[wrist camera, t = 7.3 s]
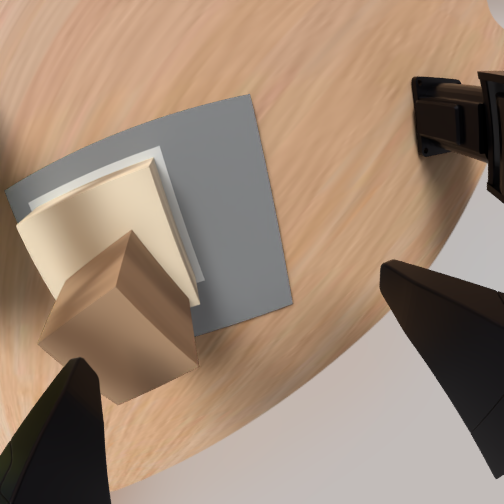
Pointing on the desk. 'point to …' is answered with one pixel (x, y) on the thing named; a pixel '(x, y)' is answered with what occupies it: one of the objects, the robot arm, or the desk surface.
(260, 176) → the build mat
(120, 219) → the maple slab
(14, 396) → the desk surface
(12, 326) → the desk surface
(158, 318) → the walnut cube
